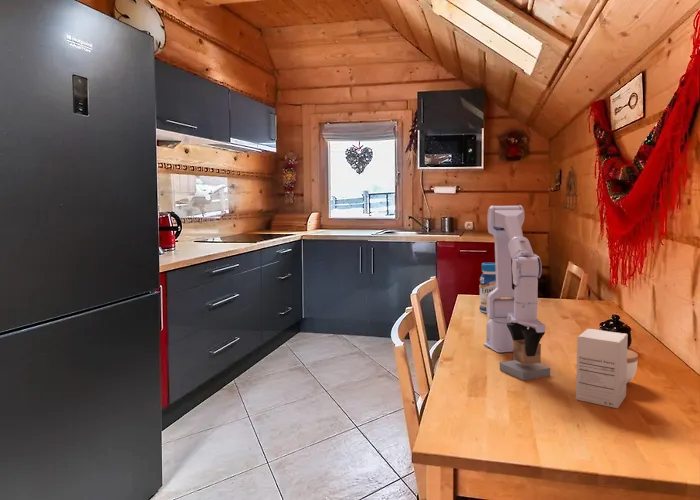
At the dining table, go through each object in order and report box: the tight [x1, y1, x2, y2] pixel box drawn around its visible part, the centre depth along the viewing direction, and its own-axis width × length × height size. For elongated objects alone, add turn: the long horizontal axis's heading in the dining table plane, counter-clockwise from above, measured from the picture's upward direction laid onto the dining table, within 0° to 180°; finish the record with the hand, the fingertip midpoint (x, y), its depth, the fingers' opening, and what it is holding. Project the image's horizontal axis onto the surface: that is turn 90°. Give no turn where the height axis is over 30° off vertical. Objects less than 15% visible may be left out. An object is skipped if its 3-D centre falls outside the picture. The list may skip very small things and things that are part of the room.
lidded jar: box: [626, 348, 639, 384], centre depth 125 cm, size 11×11×9 cm
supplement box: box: [575, 328, 629, 409], centre depth 115 cm, size 9×9×15 cm
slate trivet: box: [499, 359, 551, 381], centre depth 133 cm, size 9×9×2 cm
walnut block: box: [512, 340, 542, 364], centre depth 133 cm, size 5×5×5 cm
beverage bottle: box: [478, 262, 501, 314], centre depth 206 cm, size 8×8×20 cm
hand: (524, 352), depth 133 cm, fingers closed on walnut block, 5 cm apart
